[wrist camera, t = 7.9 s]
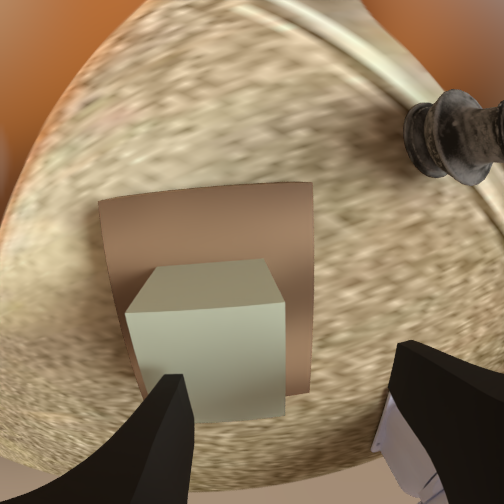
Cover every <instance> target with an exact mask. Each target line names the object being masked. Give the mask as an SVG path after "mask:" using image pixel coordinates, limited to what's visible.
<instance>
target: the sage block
mask: <svg viewBox="0 0 504 504" xmlns="http://www.w3.org/2000/svg"><path fill="white" fill-rule="evenodd" d="M125 316H126V320H127V324H128V328H129V332H130V336H131V340H132V344H133V347H134V351H135V354H136V358H137V361H138V365H139V368H140V371H141V374H142V378H143V381H144V384H145V387H146V390H147V393H148V394H149V393H150V392H151V390H152V389H153V388H154V386H155V385H156V384H157V383H158V381H159V380H160V379H161V377H162V376H163V375H164V374H183V376H184V380H185V384H186V388H187V392H188V396H189V400H190V403H191V407H192V411H193V414H194V423H215V422H232V421H244V420H255V419H264V418H272V417H280V416H285V384H286V335H285V301H284V299H283V297H282V295H281V293H280V291H279V289H278V287H277V285H276V283H275V281H274V279H273V277H272V274H271V272H270V270H269V268H268V266H267V264H266V262H265V260H264V258H263V259H250V260H238V261H225V262H212V263H199V264H186V265H173V266H159V267H156V269H155V270H154V271H153V273H152V274H151V276H150V277H149V278H148V280H147V281H146V283H145V284H144V286H143V287H142V288H141V290H140V291H139V293H138V294H137V296H136V297H135V299H134V300H133V302H132V303H131V305H130V306H129V308H128V309H127V311H126V312H125Z"/></svg>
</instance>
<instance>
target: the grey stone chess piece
mask: <svg viewBox="0 0 504 504" xmlns="http://www.w3.org/2000/svg"><path fill="white" fill-rule="evenodd" d="M404 142H405V146H406V150H407V152H408V155H409V157H410V159H411V160H412V162H413V163H414V165H415V166H416V167H417V168H418V169H419V170H420V171H421V172H422V173H423V174H425V175H427V176H429V177H434V178H439V177H444V176H446V175H447V174H448V175H450V176H452V177H453V178H454V179H455V180H457V181H458V182H460V183H461V184H464V185H469V186H472V185H477V184H479V183H480V182H482V181H483V180H484V179H485V178H486V176H487V175H488V173H489V172H490V169H491V166H492V163H493V162H496V163H504V100H503V101H501V102H500V104H499V105H498V107H493V108H486V109H482V107H481V106H480V105H479V104H478V102H477V101H476V100H475V99H474V98H473V97H471V96H470V95H469V94H468V93H466V92H464V91H461V90H455V89H451V90H449V91H446V92H444V93H443V94H442V95H441V96H440V97H439V98H438V100H437V101H436V102H435V103H434V104H431V103H420V104H417V105H415V106H414V107H413V108H412V109H411V110H410V111H409V112H408V114H407V116H406V118H405V123H404Z"/></svg>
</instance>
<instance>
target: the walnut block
mask: <svg viewBox="0 0 504 504" xmlns="http://www.w3.org/2000/svg"><path fill="white" fill-rule="evenodd" d="M98 206H99V215H100V223H101V230H102V237H103V244H104V250H105V256H106V262H107V267H108V273H109V278H110V283H111V288H112V292H113V297H114V301H115V306H116V310H117V314H118V318H119V322H120V326H121V330H122V333H123V337H124V341H125V344H126V348H127V351H128V355H129V358H130V361H131V364H132V368H133V371H134V374H135V377H136V380H137V383H138V386H139V389H140V392H141V394H142V397H143V400H144V399H145V398H146V397H147V396H148V393H147V390H146V387H145V384H144V381H143V378H142V374H141V371H140V368H139V365H138V361H137V358H136V354H135V351H134V347H133V344H132V340H131V336H130V332H129V328H128V324H127V320H126V316H125V312H126V311H127V309H128V308H129V306H130V305H131V303H132V302H133V300H134V299H135V297H136V296H137V294H138V293H139V291H140V290H141V288H142V287H143V286H144V284H145V283H146V281H147V280H148V278H149V277H150V276H151V274H152V273H153V271H154V270H155V269H156V267H159V266H173V265H186V264H199V263H212V262H225V261H238V260H250V259H263V258H264V260H265V262H266V264H267V266H268V268H269V270H270V272H271V274H272V277H273V279H274V281H275V283H276V285H277V287H278V289H279V291H280V293H281V295H282V297H283V299H284V301H285V335H286V384H285V396H291V395H298V394H304V393H309V390H310V375H311V358H312V337H313V306H314V213H313V183H311V182H274V183H255V184H239V185H224V186H212V187H200V188H189V189H179V190H169V191H160V192H152V193H144V194H136V195H128V196H121V197H115V198H111V199H106V200H101V201H98Z"/></svg>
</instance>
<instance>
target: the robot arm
mask: <svg viewBox="0 0 504 504" xmlns="http://www.w3.org/2000/svg"><path fill="white" fill-rule="evenodd" d="M388 389H389V394H388V397H387V401H386V404H385V408H384V411H383V414H382V417H381V420H380V424H379V427H378V430H377V432H376V435H375V438H374V441H373V444H372V447H371V451H372V452H377V451H381V453H382V455H383V456H384V458H385V460H386V462H387V464H388V466H389V467H390V469H391V471H392V473H393V475H394V476H395V478H396V480H397V482H398V484H399V486H400V487H401V489H402V490H403V491H404V492H405V493H407V494H409V495H410V496H413V497H416V498H420V499H421V501H420V502H419V503H418V504H504V374H502V373H498V372H495V371H491V370H488V369H485V368H482V367H479V366H476V365H473V364H471V363H468V362H466V361H463V360H461V359H458V358H456V357H453V356H451V355H449V354H446V353H444V352H441V351H439V350H437V349H434V348H432V347H430V346H427V345H425V344H422V343H420V342H417V341H414V340H408V341H405V342H401V343H397V348H396V353H395V358H394V363H393V367H392V372H391V376H390V380H389V384H388ZM193 450H194V414H193V411H192V407H191V403H190V400H189V396H188V392H187V388H186V384H185V380H184V376H183V374H164V375H163V376H162V377H161V379H160V380H159V381H158V383H157V384H156V385H155V386H154V388H153V389H152V390H151V392H150V393H149V394H148V396H147V397H146V398H145V399H144V401H143V402H142V403H141V404H140V406H139V407H138V408H137V409H136V410H135V412H134V413H133V414H132V415H131V416H130V418H129V419H128V420H127V421H126V422H125V423H124V424H123V425H122V426H121V427H120V428H119V430H118V431H117V432H116V433H115V434H114V435H113V436H112V437H111V438H110V439H109V440H108V441H107V442H106V443H105V444H104V445H102V446H101V447H100V448H99V449H98V450H97V451H96V452H94V453H93V454H92V455H91V456H90V457H88V458H87V459H86V460H84V461H83V462H81V463H80V464H79V465H77V466H76V467H74V468H73V469H71V470H70V471H68V472H67V473H65V474H64V475H62V476H61V477H59V478H57V479H55V480H53V481H52V482H50V483H48V484H46V485H44V486H42V487H40V488H38V489H36V490H33V491H31V492H29V493H26V494H24V495H21V496H17V497H15V498H12V499H9V500H5V501H2V502H0V504H187V499H188V490H189V482H190V474H191V466H192V458H193Z"/></svg>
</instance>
